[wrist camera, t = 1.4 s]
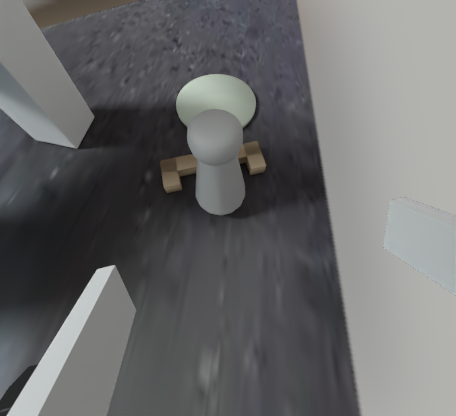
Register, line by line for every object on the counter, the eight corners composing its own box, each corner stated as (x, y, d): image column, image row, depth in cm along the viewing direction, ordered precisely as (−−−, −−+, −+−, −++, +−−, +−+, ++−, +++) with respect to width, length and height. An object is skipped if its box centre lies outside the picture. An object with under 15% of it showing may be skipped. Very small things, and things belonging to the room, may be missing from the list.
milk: (55, 108, 33) (-190, -196, 12) (96, 117, 33) (-83, -171, 13) (34, 141, 31) (-308, -168, 10) (78, 150, 31) (-176, -138, 10)
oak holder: (264, 172, 29) (266, 165, 28) (167, 193, 28) (163, 187, 27) (255, 147, 31) (257, 140, 29) (163, 167, 30) (159, 160, 28)
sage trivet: (160, 115, 33) (159, 112, 32) (205, 68, 37) (204, 64, 36) (229, 149, 31) (229, 147, 30) (269, 95, 34) (269, 91, 34)
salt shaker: (247, 183, 29) (261, 101, 17) (239, 225, 26) (247, 165, 14) (204, 175, 29) (186, 90, 17) (192, 215, 27) (162, 150, 15)
